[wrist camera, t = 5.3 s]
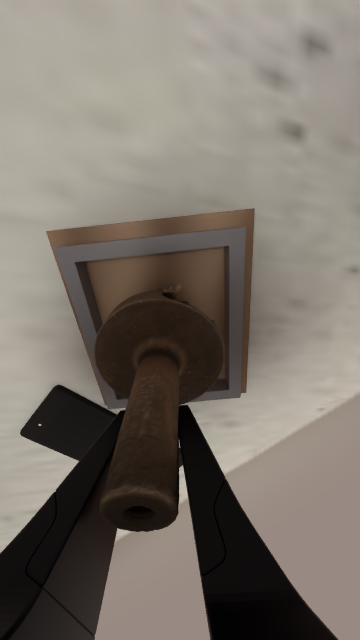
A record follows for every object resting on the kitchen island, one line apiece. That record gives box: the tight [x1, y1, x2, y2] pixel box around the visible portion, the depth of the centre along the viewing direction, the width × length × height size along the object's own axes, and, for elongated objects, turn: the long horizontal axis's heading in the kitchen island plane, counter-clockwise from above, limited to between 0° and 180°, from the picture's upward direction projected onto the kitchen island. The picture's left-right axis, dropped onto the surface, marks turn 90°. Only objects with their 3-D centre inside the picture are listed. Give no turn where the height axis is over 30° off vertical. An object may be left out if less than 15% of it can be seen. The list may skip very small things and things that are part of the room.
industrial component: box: [94, 284, 224, 532], centre depth 11 cm, size 9×7×12 cm
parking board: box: [46, 208, 255, 405], centre depth 18 cm, size 14×16×1 cm
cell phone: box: [20, 385, 183, 468], centre depth 24 cm, size 9×18×1 cm, turn 50°
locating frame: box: [54, 227, 246, 409], centre depth 16 cm, size 12×14×2 cm
